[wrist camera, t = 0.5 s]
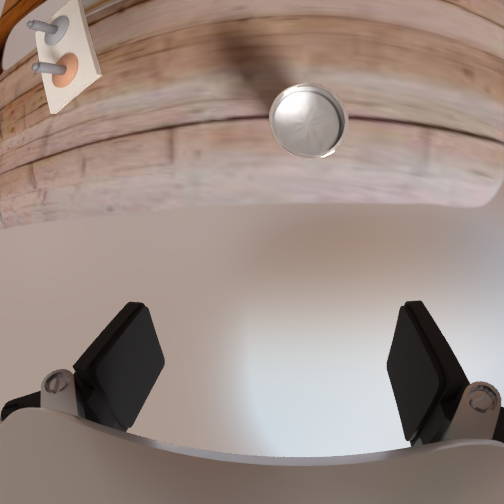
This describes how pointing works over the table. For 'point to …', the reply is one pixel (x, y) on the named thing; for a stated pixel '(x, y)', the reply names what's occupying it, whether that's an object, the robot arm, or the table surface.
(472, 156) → the table surface
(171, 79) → the table surface
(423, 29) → the table surface
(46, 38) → the pin board
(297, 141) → the beer glass
